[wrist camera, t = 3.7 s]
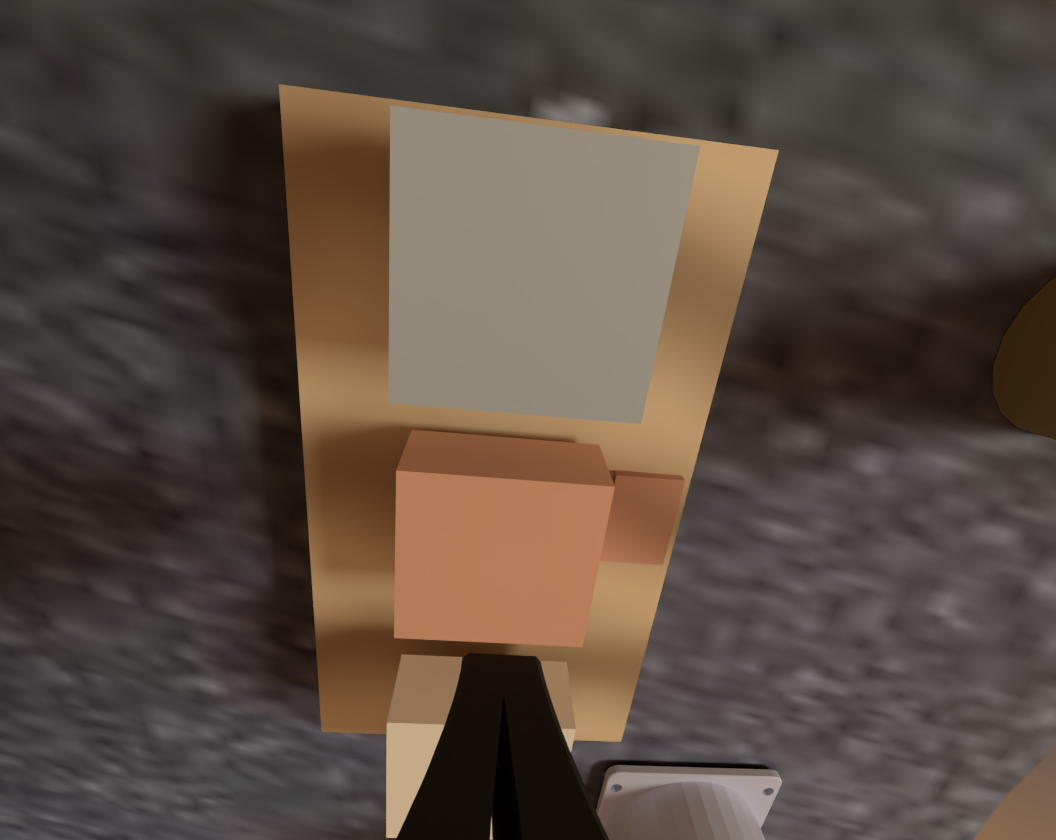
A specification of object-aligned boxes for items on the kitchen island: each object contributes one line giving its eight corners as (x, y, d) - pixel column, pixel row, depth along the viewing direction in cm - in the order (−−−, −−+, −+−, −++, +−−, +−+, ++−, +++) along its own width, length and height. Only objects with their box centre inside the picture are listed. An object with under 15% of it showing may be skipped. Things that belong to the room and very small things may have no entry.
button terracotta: (572, 590, 16) (582, 646, 14) (408, 580, 16) (393, 638, 14) (598, 444, 14) (615, 486, 12) (411, 429, 14) (396, 470, 12)
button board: (611, 695, 22) (628, 776, 19) (337, 684, 21) (309, 768, 18) (742, 156, 14) (808, 145, 11) (310, 99, 13) (251, 71, 10)
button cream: (546, 768, 18) (552, 840, 16) (399, 764, 18) (386, 837, 16) (566, 661, 16) (576, 729, 14) (401, 654, 16) (387, 722, 14)
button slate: (619, 386, 13) (641, 423, 11) (407, 367, 12) (388, 402, 10) (662, 154, 11) (700, 146, 9) (412, 122, 10) (389, 105, 8)
